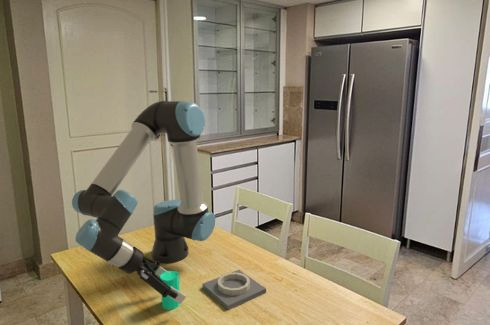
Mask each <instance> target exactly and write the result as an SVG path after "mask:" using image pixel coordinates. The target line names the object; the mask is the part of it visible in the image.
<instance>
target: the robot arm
mask: <svg viewBox="0 0 490 325" xmlns="http://www.w3.org/2000/svg"><path fill="white" fill-rule="evenodd" d="M204 127H206V118H205V114H204V111H203V109H202V108H201V107H200V106H199V105H198V104H197V103H195V102H192V101H185V100H183V101H182V100H180V101H179V100H178V101H177V100H176V101H175V100H169V101H168V100H158V101H156V102H154V103H152V104H149V106H147V107H146V108H145V109H144V110H143V111H141V112H140V114H138V115H137V117H136V118H135V119H134V121H133V122H132V123H131V129H130V131H129V132H128V134H127V135H126V136H125V137H124V139H123V140H122V142H121V143H120V144H119V146H118V147H117V148H116V150H115V151H114V152H113V154H112V155H111V157H110V158H109V159H108V160H107V162H106V163H105V164H104V166H103V167H102V168H101V170H100V171H99V173H98V174H97V175H96V177H95V178H94V179H93V181H92V182H91V183H90V185H89V186H88V187H87V189H82V190H79V191H77V192H75V194H74V195H73V197H72V199H71V206H72V208H73V210H74V211H75V212H77V213H79V214H82V215H83V216H86V217H87V216H89V217H92V218H96V220H94V219H88V220H86V221H85V222H84V223H83V225H81V227H80V228H79V229H78V231H77V232H76V234H75V242H76V243H77V244H78V245H80V246H81V247H83V249H85V250H86V251H88V252H90V253H92V254H93V255H95V256H97V257H99V258H100V259H103V260H104V261H106V263H107V265H112V266H114V267H116V268H118V270H120V271H122V272H124V273H126V274H127V275H130V274H133V273H135V272H136V273H137V275H138V276H139V279H140V280H142V281H144V282H145V283H146V284H147V285H149V286H150V287H152V289H154V290H155V291H156V292H158V293H159V294H160V295H162V296H161V298H162V297H165V298H166V297H167V296H168V297H170V298H172V299H173V300H175V301H177V302H178V303H180V305H181V304H182V303H183V301H184V300H186V298H187V296H186V294H184V293H182V291H181V292H179V291H178V290H176V289H174V288H173V287H171V286H170V287H169V286H168V285H167V284H166V283H165V282H164V281H163V280H161V279H160V275H161V274H163V273H164V272H166V271H167V270H166V269H164V267H162V266H161V263H163V264H168V263H176V262H179V261H181V260H184V259H185V258H187V257H188V255H189V245H188V243H187V241H186V239H190V240H192V241H197V242H204V241H206V240H208V239H209V237H211V235H212V233H213V231H214V229H215V227H216V217H215V216H216V215H215V214H214V213H213V212H211V211H209V206H208V203H207V202H206V201H204V198H203V189H202V188H203V187H202V179H201V171H200V163H199V155H198V154H199V153H198V145H197V142H198V141H199V140H200V139H201V134H202V133H203V132H204V130H205V128H204ZM160 134H166V137H167V142H168V143H169V144H171V145H172V149H173V155H174V156H173V157H174V163H175V164H174V165H175V170H176V177H177V178H176V179H177V185H178V186H177V187H178V192H179V199H169V200H165V201H164V200H163V201H161V202H159V203H156V204H155V205H154V206H153V214H152V215H153V226H154V227H153V228H154V235H155V236H154V242H153V246H152V249H151V257H152V259H151V258H148V257H147V256H144V252H143V251H142V250H140V249H139V248H138V247H136V246H133V244H132V243H130V242H128V241H127V240H126V239H125V238H124V239H123V238H122V237H120V236H119V234H120V232H121V231H122V230H123V228H124V226H126V224H127V222H128V220H129V219H130V217H131V216H132V214H134V211H135V209H136V207H137V205H138V200H137V198H136V196H134V195H133V194H132V193H130V192H129V191H126V190H123V189H119V190H117V189H118V188H119V186H120V184H121V183H122V182H123V180H124V179H125V178H126V176H127V174H128V173H129V171H130V170H131V169H132V168H133V166H134V165H135V163H136V161H137V160H138V159H139V158H140V156H141V154H142V153H143V152H144V151H145V149H146V147H147V146H148V145H149V143H150V142H152V141H155V139H156V138H157V137H158V136H159V135H160ZM185 238H186V239H185Z"/></svg>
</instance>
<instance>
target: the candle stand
mask: <svg viewBox="0 0 490 325" xmlns="http://www.w3.org/2000/svg"><path fill="white" fill-rule="evenodd" d="M201 287H202V289H203V290H204V291H206V292H207V293H208V294H209V295H210V296H211V297H212V298H214V299H215V300H216V301H217V302H218V303H219V304H220V305H222V306H223V307H224V308H226V310H231V309H233V308H236V307H238V306H239V305H241V304H244V303H247V302H248V301H251V300H253V299H254V298H257V297H259V296H261V295H263V294H265V293H267V288H266V287H265V286H263V285H262V284H260V283H259V282H258V281H256V280H255V279H254V278H252V277H250V276H249V275H247V274H246V273H245V272H243V271H241V270H240V269H237V270H234V271H232V272H227V273H226V274H222V275H221V276H219V277H216V278H213V279H211V280H209V281H208V280H207V281H206V282H203V283H202V284H201Z"/></svg>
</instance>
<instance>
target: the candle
mask: <svg viewBox="0 0 490 325" xmlns="http://www.w3.org/2000/svg"><path fill="white" fill-rule="evenodd" d="M179 273H180V272H178V271H177V270H166V272H164V273H163V274H161V275H160V277H159V278H160V279H161V280H163V281H164V282H165V283H166V284H167V285H168V286H169V287H170V286H171V287H173V288H174V289H176V290H178V291H179V292H180V290H181V289H180V288H181V287H180V274H179ZM160 295H161V294H160ZM180 305H181V304H180V303H178V302H177V301H175V300H173V299H172V298H170V297H168V296H167V297H166V298H165V297H162V295H161V307H162V308H163V309H164V310H168V311H169V310H174V309H177V308H179V306H180Z"/></svg>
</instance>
